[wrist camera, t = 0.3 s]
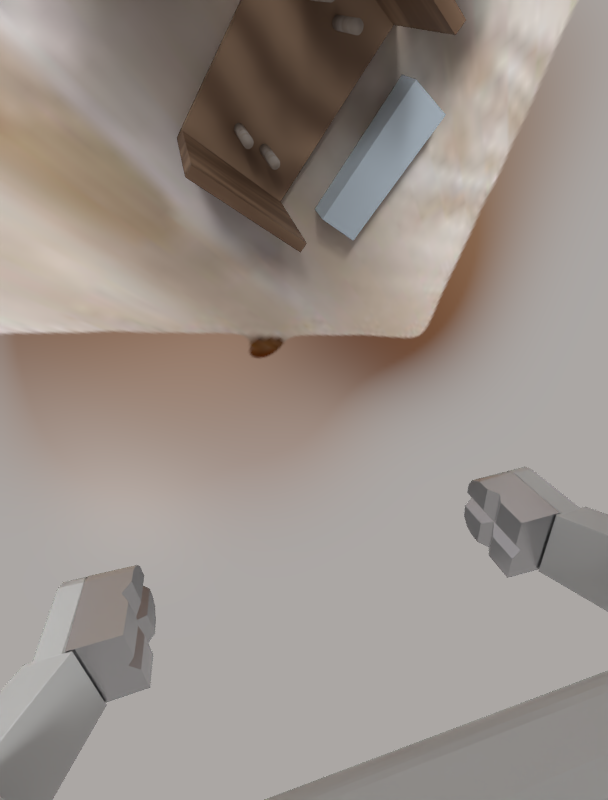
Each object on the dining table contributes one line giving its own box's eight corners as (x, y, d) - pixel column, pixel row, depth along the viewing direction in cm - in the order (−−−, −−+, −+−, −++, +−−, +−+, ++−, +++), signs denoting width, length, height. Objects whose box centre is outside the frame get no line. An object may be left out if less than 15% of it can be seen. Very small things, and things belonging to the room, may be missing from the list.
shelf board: (401, 74, 47) (416, 79, 45) (430, 107, 51) (445, 114, 48) (313, 208, 56) (322, 219, 53) (343, 229, 59) (353, 240, 57)
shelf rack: (299, -126, 34) (356, -166, 25) (396, 12, 43) (466, 19, 34) (176, 137, 45) (185, 177, 36) (273, 206, 54) (300, 252, 44)
